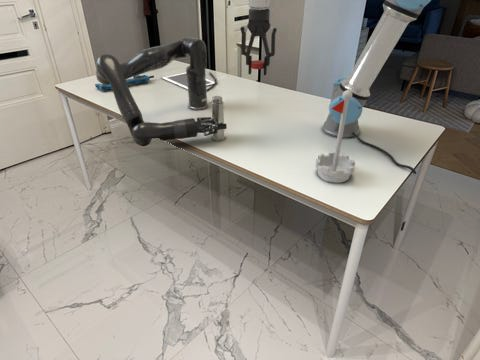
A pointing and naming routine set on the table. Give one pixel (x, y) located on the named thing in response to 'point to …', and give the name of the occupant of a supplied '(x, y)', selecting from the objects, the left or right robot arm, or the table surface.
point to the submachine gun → (135, 80)
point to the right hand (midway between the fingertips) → (257, 73)
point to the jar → (218, 116)
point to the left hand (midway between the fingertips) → (224, 123)
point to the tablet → (183, 80)
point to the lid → (257, 64)
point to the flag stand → (337, 151)
